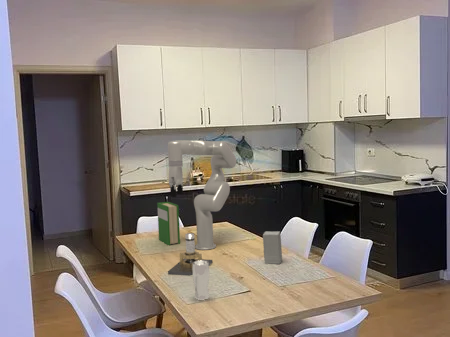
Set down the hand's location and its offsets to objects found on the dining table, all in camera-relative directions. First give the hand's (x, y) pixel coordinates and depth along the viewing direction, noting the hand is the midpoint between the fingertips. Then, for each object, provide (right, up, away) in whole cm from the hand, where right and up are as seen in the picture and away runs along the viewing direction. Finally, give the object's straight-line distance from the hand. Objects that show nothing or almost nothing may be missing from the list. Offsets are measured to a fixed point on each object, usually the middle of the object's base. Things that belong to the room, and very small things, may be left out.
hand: (176, 195), depth 245 cm
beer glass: (+17, -39, -59) cm, 73 cm away
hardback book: (-9, -32, +39) cm, 51 cm away
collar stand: (+9, -36, -18) cm, 41 cm away
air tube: (+9, -34, -18) cm, 40 cm away
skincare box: (+51, -34, -13) cm, 62 cm away
